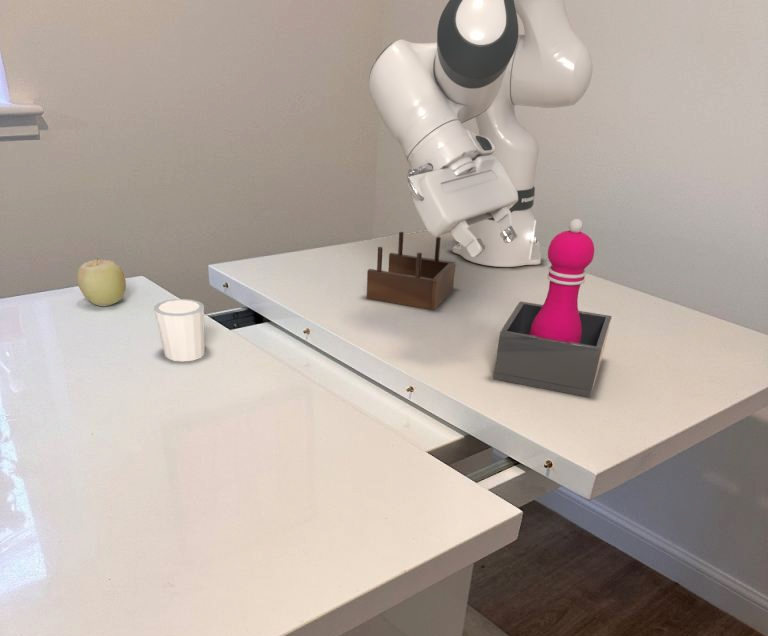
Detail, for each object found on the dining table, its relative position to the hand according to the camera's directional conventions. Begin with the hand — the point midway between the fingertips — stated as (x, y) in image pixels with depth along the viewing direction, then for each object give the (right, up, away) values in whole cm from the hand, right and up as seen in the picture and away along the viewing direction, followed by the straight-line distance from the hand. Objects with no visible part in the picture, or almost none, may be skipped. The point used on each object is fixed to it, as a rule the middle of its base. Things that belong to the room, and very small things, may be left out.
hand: (496, 246), depth 101 cm
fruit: (-62, -3, +18) cm, 65 cm away
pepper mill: (+8, -16, +3) cm, 18 cm away
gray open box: (+8, -17, +4) cm, 19 cm away
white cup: (-45, -15, +3) cm, 47 cm away
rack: (-11, +2, +28) cm, 30 cm away
